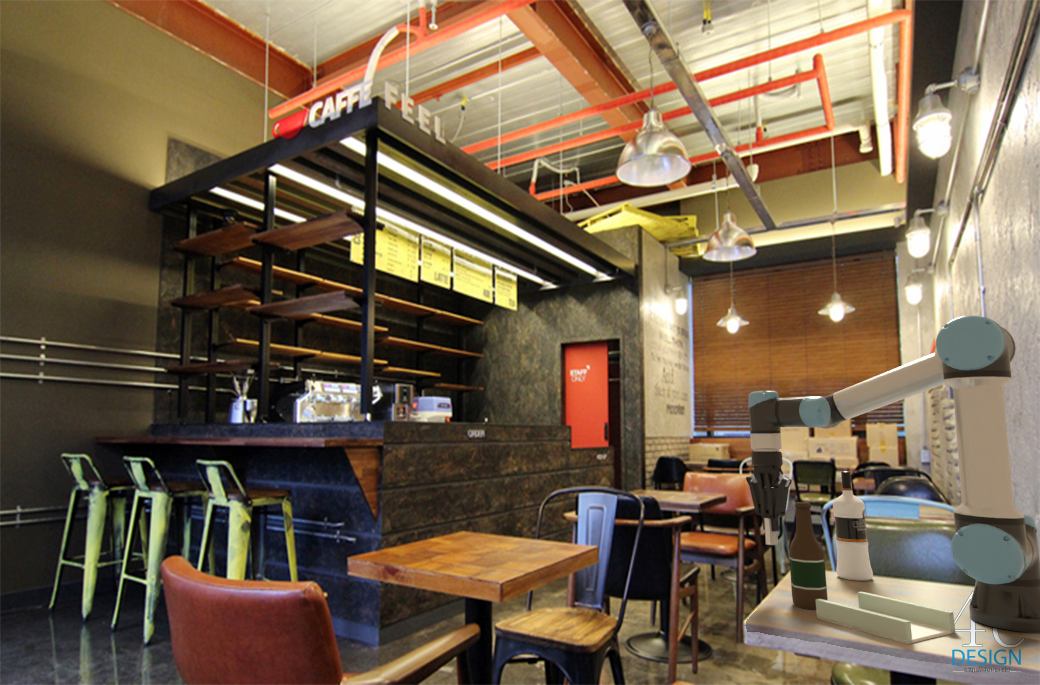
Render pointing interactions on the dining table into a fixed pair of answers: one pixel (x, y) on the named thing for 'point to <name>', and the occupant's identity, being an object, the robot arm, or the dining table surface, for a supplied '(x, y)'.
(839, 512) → the vodka
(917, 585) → the dining table surface
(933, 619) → the rest
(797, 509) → the beer bottle
